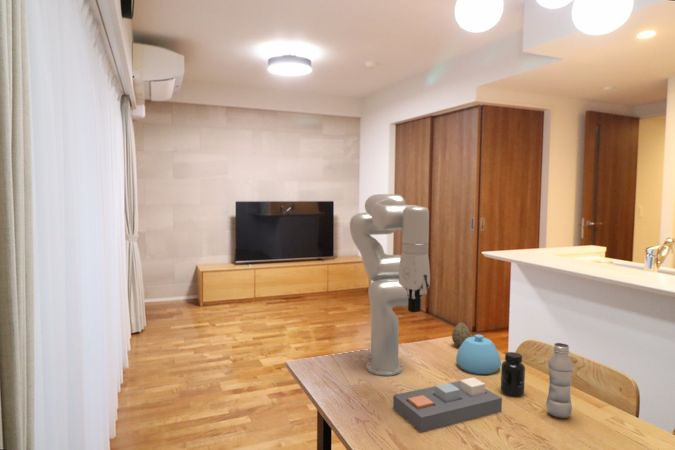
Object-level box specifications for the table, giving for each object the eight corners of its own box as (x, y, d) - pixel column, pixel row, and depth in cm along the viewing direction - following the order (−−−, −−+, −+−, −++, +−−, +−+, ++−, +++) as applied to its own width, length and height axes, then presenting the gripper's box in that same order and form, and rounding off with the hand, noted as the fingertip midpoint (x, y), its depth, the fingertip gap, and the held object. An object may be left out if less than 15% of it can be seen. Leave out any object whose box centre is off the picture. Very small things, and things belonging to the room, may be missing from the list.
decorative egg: (460, 342, 186) (461, 318, 185) (474, 347, 180) (474, 323, 179) (448, 345, 182) (448, 321, 181) (461, 351, 176) (462, 326, 175)
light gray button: (434, 400, 130) (434, 385, 130) (448, 397, 132) (449, 382, 132) (445, 408, 126) (445, 392, 125) (460, 404, 128) (460, 389, 127)
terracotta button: (407, 413, 127) (408, 398, 126) (422, 410, 129) (423, 394, 128) (418, 421, 122) (418, 406, 122) (433, 418, 124) (433, 402, 124)
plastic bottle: (569, 411, 128) (572, 342, 127) (573, 423, 122) (576, 350, 120) (544, 407, 130) (547, 339, 129) (547, 419, 124) (549, 347, 122)
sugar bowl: (476, 356, 170) (477, 326, 170) (509, 370, 158) (510, 337, 157) (447, 364, 163) (447, 333, 162) (479, 379, 150) (480, 345, 149)
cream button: (459, 394, 134) (460, 380, 133) (473, 391, 136) (473, 377, 135) (471, 402, 129) (471, 387, 129) (485, 398, 131) (485, 384, 131)
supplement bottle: (526, 398, 136) (527, 359, 135) (502, 396, 138) (503, 357, 137) (521, 388, 143) (523, 351, 142) (499, 386, 144) (500, 349, 143)
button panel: (393, 408, 130) (393, 395, 130) (468, 391, 141) (468, 378, 141) (421, 432, 117) (421, 417, 117) (501, 411, 128) (501, 397, 128)
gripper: (390, 246, 137) (390, 306, 138) (418, 253, 123) (417, 319, 125) (411, 245, 140) (411, 304, 141) (441, 251, 126) (440, 316, 128)
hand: (414, 311), depth 133 cm, fingers closed
